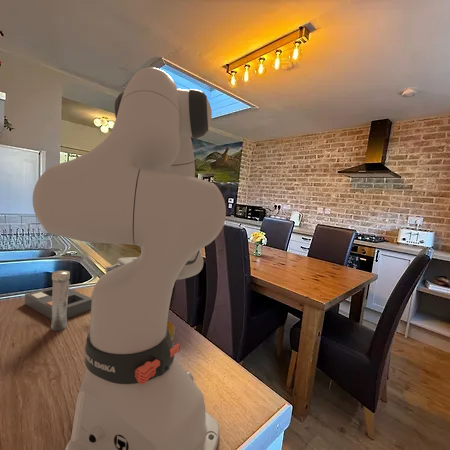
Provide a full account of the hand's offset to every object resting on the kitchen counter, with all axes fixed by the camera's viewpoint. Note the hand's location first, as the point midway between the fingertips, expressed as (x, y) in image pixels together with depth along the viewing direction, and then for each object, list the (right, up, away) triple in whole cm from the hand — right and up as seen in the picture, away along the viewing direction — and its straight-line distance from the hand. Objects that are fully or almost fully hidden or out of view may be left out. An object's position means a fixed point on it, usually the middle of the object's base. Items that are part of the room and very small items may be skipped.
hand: (112, 275), depth 71 cm
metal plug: (-10, -11, -7) cm, 17 cm away
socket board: (-17, -9, +3) cm, 19 cm away
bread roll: (+14, -14, -7) cm, 21 cm away
